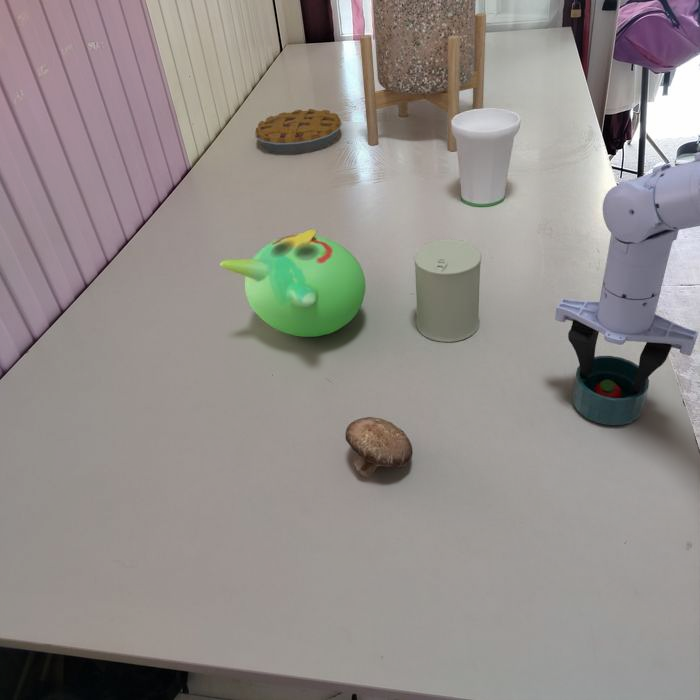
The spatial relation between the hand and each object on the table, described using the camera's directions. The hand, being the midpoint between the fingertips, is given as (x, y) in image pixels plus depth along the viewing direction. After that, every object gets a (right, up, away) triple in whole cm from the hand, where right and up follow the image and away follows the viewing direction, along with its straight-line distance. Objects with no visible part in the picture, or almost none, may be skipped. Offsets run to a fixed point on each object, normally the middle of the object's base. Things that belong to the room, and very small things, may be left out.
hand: (611, 381), depth 75 cm
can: (-17, +8, +19) cm, 26 cm away
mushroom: (-27, -9, -1) cm, 29 cm away
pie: (-44, +56, +85) cm, 111 cm away
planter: (-12, +57, +81) cm, 100 cm away
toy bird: (-37, +7, +22) cm, 44 cm away
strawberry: (0, -3, +2) cm, 3 cm away
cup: (-5, +34, +50) cm, 60 cm away
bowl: (0, -3, +2) cm, 4 cm away
